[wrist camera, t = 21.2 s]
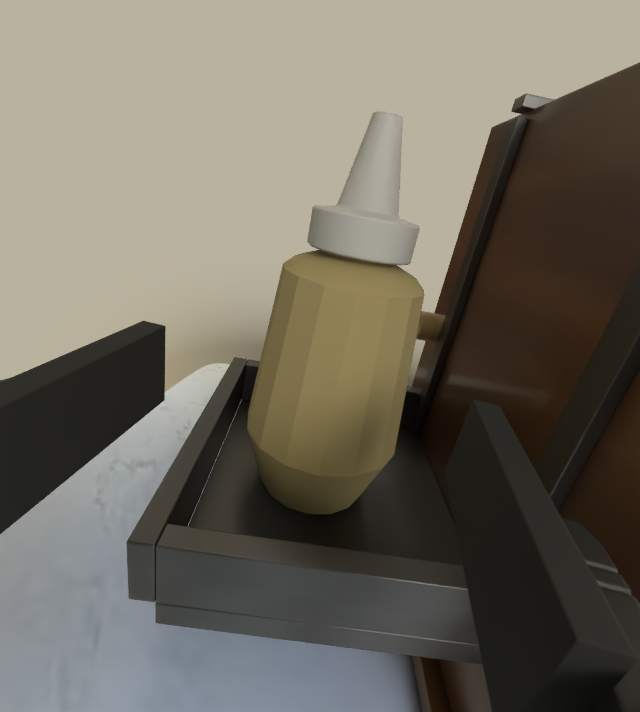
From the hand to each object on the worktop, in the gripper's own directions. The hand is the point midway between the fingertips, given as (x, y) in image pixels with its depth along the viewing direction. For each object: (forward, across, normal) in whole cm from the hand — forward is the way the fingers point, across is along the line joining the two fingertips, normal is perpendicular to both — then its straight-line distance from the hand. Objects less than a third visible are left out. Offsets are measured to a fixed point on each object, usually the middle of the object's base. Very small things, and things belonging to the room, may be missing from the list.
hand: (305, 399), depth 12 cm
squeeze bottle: (+7, 0, -9) cm, 11 cm away
